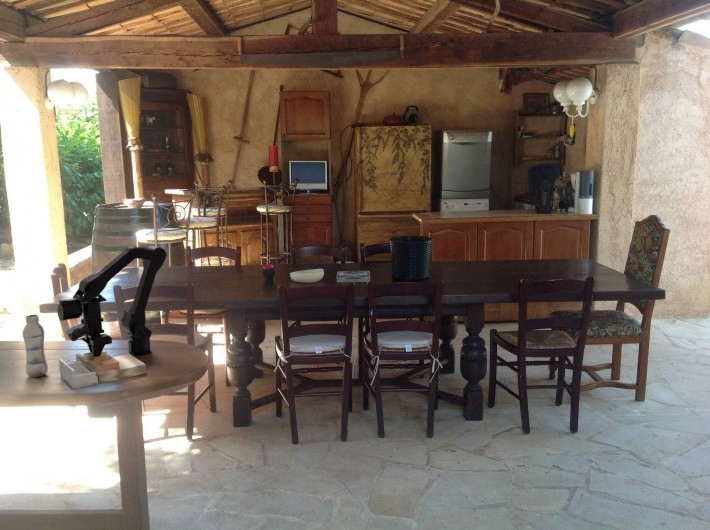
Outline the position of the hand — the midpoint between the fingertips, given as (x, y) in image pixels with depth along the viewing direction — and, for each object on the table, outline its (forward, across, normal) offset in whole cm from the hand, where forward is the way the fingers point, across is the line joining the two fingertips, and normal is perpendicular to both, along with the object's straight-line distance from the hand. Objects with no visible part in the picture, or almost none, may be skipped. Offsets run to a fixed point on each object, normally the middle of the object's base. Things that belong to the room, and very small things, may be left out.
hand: (95, 359), depth 221 cm
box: (+1, +14, -10) cm, 18 cm away
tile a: (-2, +12, -1) cm, 12 cm away
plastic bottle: (+1, +2, -19) cm, 19 cm away
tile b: (-2, +17, -1) cm, 17 cm away
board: (+1, +14, +2) cm, 15 cm away
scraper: (+1, 0, 0) cm, 1 cm away
